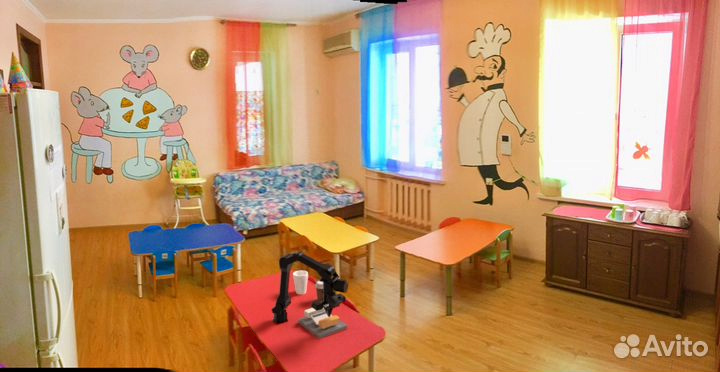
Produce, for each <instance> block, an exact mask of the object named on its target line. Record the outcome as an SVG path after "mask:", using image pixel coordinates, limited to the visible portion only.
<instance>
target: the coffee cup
mask: <svg viewBox="0 0 720 372" xmlns="http://www.w3.org/2000/svg"><path fill="white" fill-rule="evenodd" d="M314 287H315V290H316V297H317V298H316V299H317V301H319V302H323V300H322V298H323V293H322V290H323V282H321V281H319V280H318V281H316V283H315V284H314Z"/></svg>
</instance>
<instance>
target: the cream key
mask: <svg viewBox="0 0 720 372" xmlns="http://www.w3.org/2000/svg"><path fill="white" fill-rule="evenodd" d="M323 311H325V309H324V308H323V309H321V310H318V311H316V310H315V309H314V308H312V307H311V308H308V309H305V310H304V316H305V317H307V318H310V317H311V315H314V314H317V313H320V312H323Z"/></svg>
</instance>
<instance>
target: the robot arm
mask: <svg viewBox="0 0 720 372" xmlns="http://www.w3.org/2000/svg"><path fill="white" fill-rule="evenodd" d="M296 262H300V263H301V264H303V265H305V266H307V267H308V268H310V269H312V270H313V271H315V272H317V274H318V275H319V276H320V277H321V278H320V279H318V281H321V282H323V290H322V293H323V298H322V300H323V302H319V301H318V300H315V301H312V302H311V304H310V305H311V306H310V307H311V308H314V309H315V310H316V311H318V310H321V309H323V308H324V309H325V311H326V313H327V316H328V317H330V316H331V315H332V313H333V310H334V309H335V308H338V307H340V306H341V304H343V303H345V302H346V301H347V297H346V296H344V295H343V294H341V293H344V294H347V292H348V289H349V283H348V282H347V279H343V278H340V276H339V274H338V273H337V271H336V269H335V266H333V265H331V264H328V263H323V262H320V261H318V260H316V259H314V258H312V257H310V256H308V255H307V254H305V253H304V252H303V251H298V252H294V253H287V254H285V255H283V256H282V257H280V258H279V259H278V266H279V269H280V284H279V294H278V297H277V298H276V301H275V305H274V307H272V308H271V312H272V314H273V319H272V321H273V322H274V323H276V324H277V325H281V324H284V323H287V322H288V321H289V319H288V312H287V309H288V307H289V306H290V305H291V304H292V296H290V295H289V288H290V287H289V286H290V276H291V270H292V267H293V265H294V263H296ZM336 292H339V293H338V294H336Z"/></svg>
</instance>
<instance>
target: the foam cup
mask: <svg viewBox="0 0 720 372" xmlns="http://www.w3.org/2000/svg"><path fill="white" fill-rule="evenodd" d="M292 278H293V283H294V288H295V293H296V294H297V295H305V294H306V293H307V290H308V289H307V287H308V279H309V272H308V271H306V270H296V271H294V272H293V273H292Z"/></svg>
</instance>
